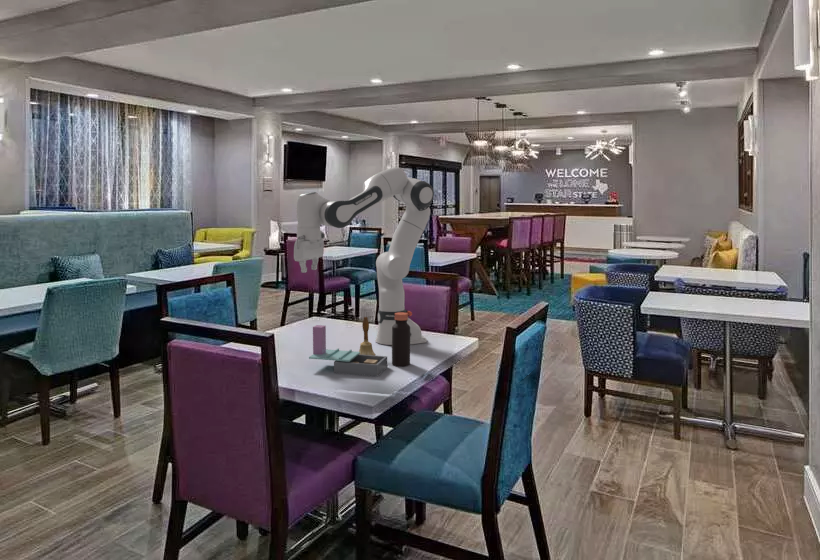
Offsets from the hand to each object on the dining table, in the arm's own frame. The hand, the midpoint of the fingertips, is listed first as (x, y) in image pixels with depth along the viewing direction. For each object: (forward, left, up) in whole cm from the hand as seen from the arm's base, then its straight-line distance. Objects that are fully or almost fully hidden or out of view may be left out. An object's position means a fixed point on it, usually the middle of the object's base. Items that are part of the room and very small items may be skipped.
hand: (309, 271), depth 223 cm
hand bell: (-21, +6, -34) cm, 41 cm away
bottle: (-30, +23, -34) cm, 51 cm away
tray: (-14, +26, -34) cm, 45 cm away
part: (-18, +26, -33) cm, 46 cm away
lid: (-6, +20, -29) cm, 36 cm away
